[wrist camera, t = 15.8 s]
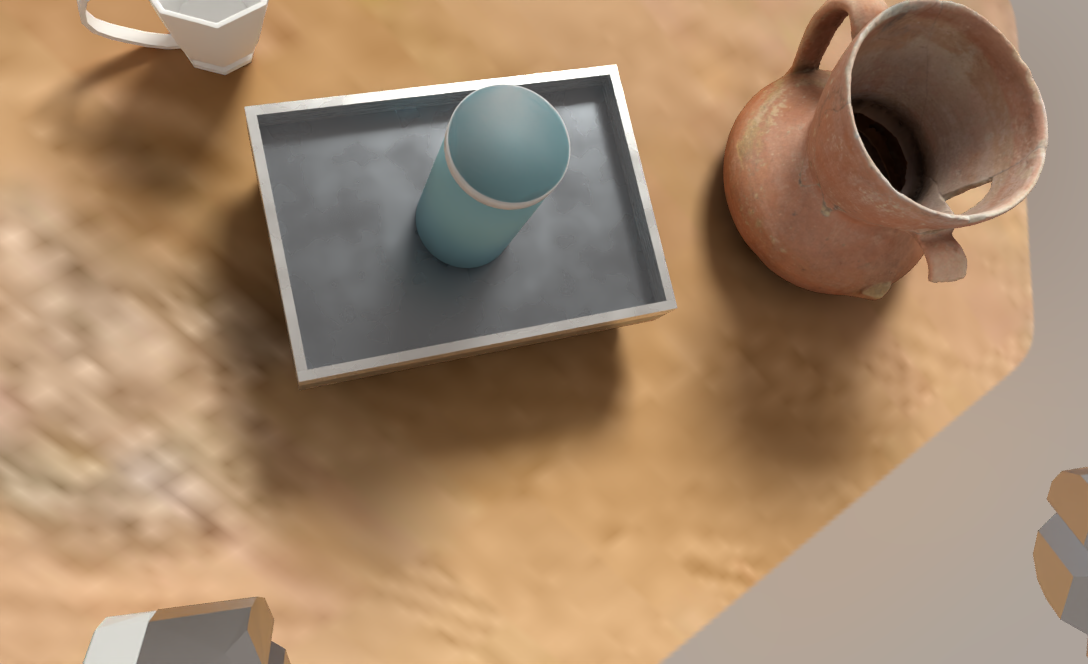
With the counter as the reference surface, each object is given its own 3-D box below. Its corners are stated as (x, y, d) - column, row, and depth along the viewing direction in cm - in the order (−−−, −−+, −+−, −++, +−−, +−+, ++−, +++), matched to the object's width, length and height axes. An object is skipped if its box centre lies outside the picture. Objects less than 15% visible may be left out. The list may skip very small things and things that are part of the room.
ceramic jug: (933, 306, 62) (1111, 244, 49) (740, 341, 58) (876, 285, 45) (863, 55, 65) (1013, -69, 51) (673, 71, 61) (783, -59, 47)
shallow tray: (298, 396, 51) (298, 382, 45) (250, 153, 53) (244, 106, 46) (636, 329, 56) (677, 307, 50) (583, 111, 58) (616, 64, 52)
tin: (426, 276, 49) (462, 212, 38) (405, 180, 49) (434, 91, 39) (523, 259, 50) (583, 193, 40) (501, 166, 51) (553, 77, 40)
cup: (292, 90, 54) (291, 21, 46) (105, 109, 51) (71, 39, 43) (270, -23, 55) (265, -109, 47) (85, -10, 52) (48, -99, 44)
